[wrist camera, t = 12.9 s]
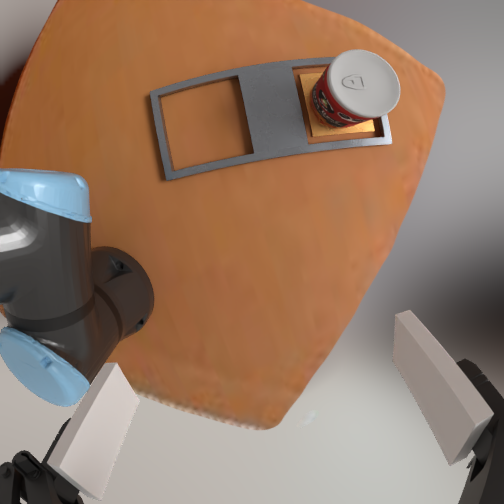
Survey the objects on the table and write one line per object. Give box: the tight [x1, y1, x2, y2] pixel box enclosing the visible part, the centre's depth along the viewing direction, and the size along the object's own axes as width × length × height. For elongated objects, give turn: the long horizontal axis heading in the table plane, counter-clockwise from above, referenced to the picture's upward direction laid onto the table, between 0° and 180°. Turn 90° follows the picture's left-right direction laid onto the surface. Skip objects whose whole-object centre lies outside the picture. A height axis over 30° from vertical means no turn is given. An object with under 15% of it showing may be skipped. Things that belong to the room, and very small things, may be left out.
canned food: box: [311, 49, 400, 128], centre depth 28 cm, size 8×8×11 cm
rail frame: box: [150, 57, 392, 181], centre depth 33 cm, size 31×13×1 cm, turn 101°
